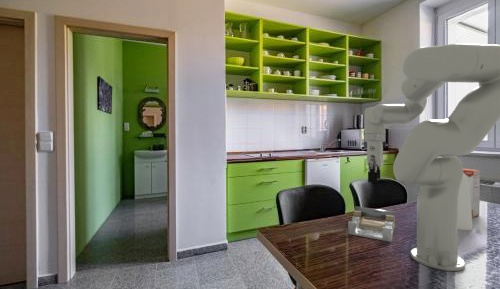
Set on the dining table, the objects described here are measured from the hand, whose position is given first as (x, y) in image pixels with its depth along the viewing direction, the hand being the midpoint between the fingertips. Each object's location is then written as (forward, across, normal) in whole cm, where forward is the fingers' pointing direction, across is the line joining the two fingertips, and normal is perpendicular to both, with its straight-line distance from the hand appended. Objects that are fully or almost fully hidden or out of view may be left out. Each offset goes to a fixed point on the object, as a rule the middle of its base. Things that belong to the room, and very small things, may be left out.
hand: (374, 180), depth 102 cm
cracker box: (+19, +40, -31) cm, 54 cm away
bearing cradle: (+18, 0, 0) cm, 19 cm away
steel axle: (+16, 0, 0) cm, 16 cm away
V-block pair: (+18, -10, 0) cm, 21 cm away
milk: (+19, +18, -25) cm, 36 cm away
